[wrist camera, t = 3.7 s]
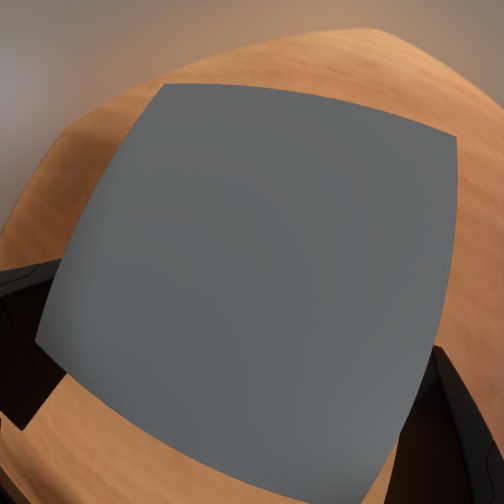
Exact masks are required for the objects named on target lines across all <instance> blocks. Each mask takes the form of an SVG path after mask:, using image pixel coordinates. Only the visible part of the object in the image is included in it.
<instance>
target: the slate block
mask: <svg viewBox="0 0 504 504" xmlns="http://www.w3.org/2000/svg"><path fill="white" fill-rule="evenodd" d="M456 209H457V141H456V137H455V136H453V135H450V134H448V133H446V132H443V131H440V130H438V129H435V128H433V127H430V126H427V125H424V124H422V123H419V122H416V121H413V120H410V119H407V118H404V117H401V116H398V115H394V114H391V113H388V112H384V111H381V110H377V109H373V108H370V107H366V106H362V105H358V104H354V103H350V102H345V101H341V100H336V99H331V98H327V97H321V96H316V95H311V94H305V93H299V92H292V91H285V90H278V89H270V88H261V87H250V86H238V85H222V84H164V85H163V86H162V87H161V89H160V90H159V91H158V92H157V94H156V95H155V96H154V98H153V99H152V100H151V102H150V103H149V104H148V106H147V107H146V108H145V110H144V111H143V113H142V114H141V115H140V117H139V118H138V120H137V121H136V122H135V124H134V125H133V127H132V128H131V130H130V131H129V133H128V134H127V136H126V137H125V139H124V140H123V142H122V144H121V145H120V147H119V148H118V150H117V152H116V153H115V155H114V156H113V158H112V160H111V161H110V163H109V165H108V166H107V168H106V170H105V172H104V173H103V175H102V177H101V179H100V180H99V182H98V184H97V186H96V188H95V190H94V191H93V193H92V195H91V197H90V199H89V201H88V203H87V205H86V207H85V209H84V211H83V213H82V215H81V217H80V219H79V221H78V223H77V225H76V227H75V230H74V232H73V234H72V236H71V239H70V241H69V243H68V245H67V248H66V250H65V252H64V255H63V257H62V260H61V262H60V265H59V267H58V270H57V273H56V275H55V278H54V281H53V283H52V286H51V289H50V292H49V295H48V298H47V301H46V304H45V307H44V310H43V314H42V317H41V320H40V324H39V327H38V331H37V334H36V338H35V342H36V343H37V344H38V345H39V346H40V347H41V348H42V349H43V350H44V351H45V352H46V353H47V354H48V355H49V356H50V357H51V358H52V359H53V360H54V361H55V362H56V363H57V364H58V365H59V366H60V367H62V368H63V369H64V370H65V371H66V372H67V373H68V374H69V375H70V376H72V377H73V378H74V379H75V380H76V381H77V382H79V383H80V384H81V385H82V386H83V387H84V388H86V389H87V390H88V391H89V392H91V393H92V394H93V395H94V396H96V397H97V398H98V399H99V400H101V401H102V402H103V403H105V404H106V405H107V406H109V407H110V408H111V409H113V410H114V411H115V412H117V413H118V414H120V415H121V416H123V417H124V418H125V419H127V420H128V421H130V422H131V423H133V424H134V425H136V426H137V427H139V428H140V429H142V430H143V431H145V432H147V433H148V434H150V435H151V436H153V437H155V438H156V439H158V440H160V441H161V442H163V443H165V444H166V445H168V446H170V447H172V448H174V449H175V450H177V451H179V452H181V453H183V454H185V455H186V456H188V457H190V458H192V459H194V460H196V461H198V462H200V463H202V464H204V465H206V466H208V467H211V468H213V469H215V470H217V471H219V472H222V473H224V474H226V475H228V476H231V477H233V478H236V479H238V480H241V481H243V482H246V483H248V484H251V485H253V486H256V487H259V488H262V489H265V490H267V491H270V492H273V493H277V494H280V495H283V496H286V497H289V498H293V499H296V500H300V501H304V502H308V503H312V504H360V503H361V502H362V500H363V499H364V497H365V496H366V494H367V493H368V491H369V489H370V488H371V486H372V484H373V483H374V481H375V480H376V478H377V476H378V474H379V473H380V471H381V469H382V467H383V466H384V464H385V462H386V460H387V458H388V456H389V454H390V453H391V451H392V449H393V447H394V445H395V443H396V441H397V439H398V437H399V434H400V432H401V430H402V428H403V426H404V424H405V421H406V419H407V417H408V414H409V412H410V410H411V407H412V405H413V402H414V400H415V397H416V395H417V392H418V390H419V387H420V384H421V381H422V379H423V376H424V373H425V370H426V367H427V364H428V361H429V358H430V354H431V351H432V348H433V344H434V341H435V337H436V333H437V330H438V326H439V322H440V318H441V313H442V309H443V304H444V300H445V295H446V290H447V284H448V279H449V273H450V267H451V260H452V252H453V244H454V235H455V224H456Z"/></svg>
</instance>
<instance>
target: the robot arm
mask: <svg viewBox="0 0 504 504" xmlns="http://www.w3.org/2000/svg"><path fill="white" fill-rule="evenodd" d="M61 260H62V259H58V260H53V261H49V262H44V263H42V264H41V263H39V264H35V265H31V266H26V267H21V268H16V269H11V270H5V271H0V411H1V412H2V413H3V414H4V415H5V416H6V417H7V418H8V419H9V420H10V421H11V422H12V423H13V424H14V425H15V426H16V427H18V428H19V429H20V430H21V431H23V430H24V429H25V428H26V426H27V425H28V423H29V422H30V421H31V419H32V418H33V417H34V415H35V414H36V413H37V411H38V410H39V409H40V407H41V406H42V405H43V403H44V402H45V401H46V399H47V398H48V397H49V396H50V394H51V393H52V391H53V390H54V389H55V388H56V386H57V385H58V384H59V383H60V381H61V380H62V379H63V378H64V376H65V375H66V374H67V372H66V371H65V370H64V369H63V368H62V367H60V366H59V365H58V364H57V363H56V362H55V361H54V360H53V359H52V358H51V357H50V356H49V355H48V354H47V353H46V352H45V351H44V350H43V349H42V348H41V347H40V346H39V345H38V344H37V343H36V342H35V338H36V334H37V331H38V327H39V324H40V320H41V317H42V314H43V310H44V307H45V304H46V301H47V298H48V295H49V292H50V289H51V286H52V283H53V281H54V278H55V275H56V273H57V270H58V267H59V265H60V262H61ZM0 428H1V418H0ZM0 504H31V503H30V502H29V500H28V499H27V498H26V497H25V496H24V495H23V494H22V493H21V491H20V490H19V489H18V488H17V487H16V485H15V484H14V483H13V482H12V481H11V479H10V478H9V477H8V476H7V474H6V473H5V472H4V470H3V469H2V468H1V466H0ZM384 504H504V460H503V457H502V455H501V453H500V451H499V449H498V447H497V445H496V442H495V440H493V436H492V434H491V432H490V430H489V428H488V426H487V424H486V422H485V420H484V418H483V417H482V415H481V413H480V411H479V409H478V407H477V405H476V404H475V402H474V400H473V398H472V396H471V395H470V393H469V391H468V389H467V388H466V386H465V384H464V383H463V381H462V379H461V377H460V376H459V374H458V373H457V371H456V369H455V368H454V366H453V364H452V363H451V361H450V360H449V358H448V356H447V355H446V353H445V352H444V350H443V349H442V348H441V347H439V346H436V345H433V348H432V351H431V354H430V358H429V361H428V364H427V367H426V370H425V373H424V376H423V379H422V381H421V384H420V387H419V390H418V392H417V395H416V397H415V400H414V402H413V405H412V407H411V410H410V412H409V414H408V417H407V419H406V421H405V424H404V426H403V428H402V430H401V432H400V435H399V441H398V446H397V451H396V456H395V461H394V466H393V470H392V474H391V478H390V482H389V486H388V490H387V494H386V497H385V501H384Z"/></svg>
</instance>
